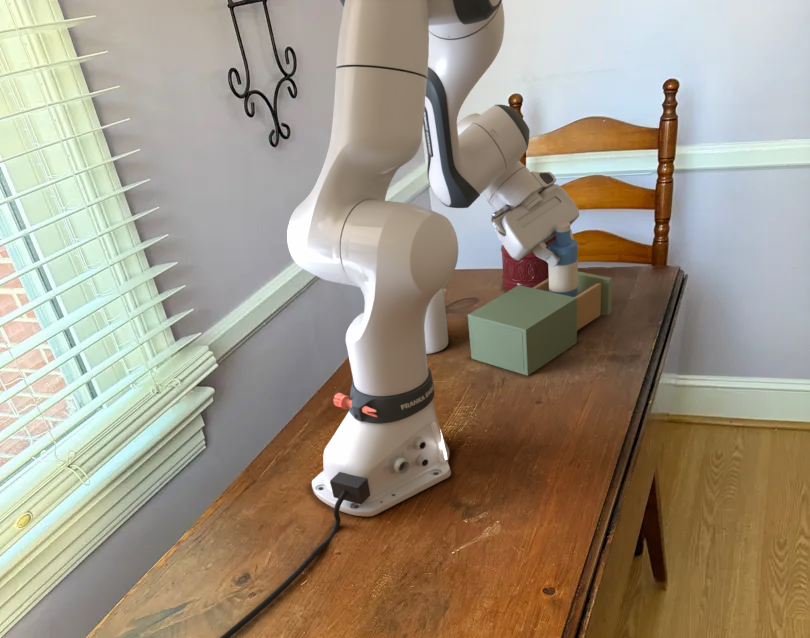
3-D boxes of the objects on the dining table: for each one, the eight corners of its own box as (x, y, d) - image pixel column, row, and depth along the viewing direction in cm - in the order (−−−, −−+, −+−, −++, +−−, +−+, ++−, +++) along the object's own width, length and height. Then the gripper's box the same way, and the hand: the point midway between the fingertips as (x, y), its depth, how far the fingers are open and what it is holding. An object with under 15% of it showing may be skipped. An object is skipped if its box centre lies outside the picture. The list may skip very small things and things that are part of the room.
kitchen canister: (521, 270, 176) (517, 188, 165) (574, 276, 170) (574, 191, 159) (491, 293, 169) (486, 208, 158) (546, 300, 162) (544, 212, 151)
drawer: (572, 293, 161) (572, 260, 156) (623, 304, 153) (624, 270, 149) (518, 327, 152) (516, 292, 148) (569, 340, 145) (569, 304, 141)
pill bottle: (456, 339, 154) (448, 263, 144) (436, 357, 149) (426, 280, 139) (422, 334, 157) (412, 260, 148) (400, 352, 152) (389, 277, 143)
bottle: (566, 309, 146) (566, 230, 137) (543, 304, 149) (541, 227, 140) (583, 299, 149) (584, 221, 140) (560, 294, 152) (559, 217, 143)
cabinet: (520, 328, 154) (518, 284, 148) (576, 342, 146) (577, 297, 140) (471, 358, 146) (467, 314, 141) (527, 375, 138) (525, 329, 133)
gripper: (496, 204, 134) (548, 267, 135) (556, 169, 146) (603, 227, 147) (477, 228, 139) (526, 289, 140) (535, 193, 151) (581, 249, 152)
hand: (566, 257), depth 144 cm, fingers closed on bottle, 5 cm apart
